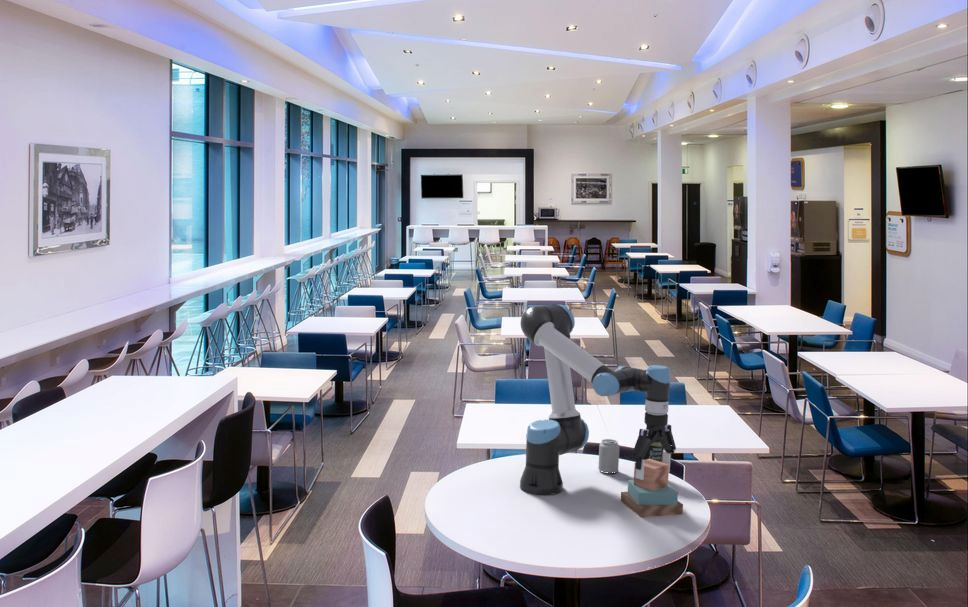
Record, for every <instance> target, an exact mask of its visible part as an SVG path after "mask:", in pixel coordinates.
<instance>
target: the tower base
mask: <svg viewBox="0 0 968 607" xmlns="http://www.w3.org/2000/svg"><path fill="white" fill-rule="evenodd" d="M620 502H621V503H622V504H623V505H624V506H625V507H627V508H628V509H629V510H631V511H632V512H633V513H634V514H635V515H637V516H638V517H639V518H650V517H651V518H652V517H665V516H666V517H667V516H679V515H680V516H681V515H683V513H684V512H683V510H684V504H683V503H682V502H680V501H679V500H678V502H677V505H638V504H637V503H636V501H635V500H634V499H633V497H632V496H631V495H630V494H629V492H628V491H621V492H620Z"/></svg>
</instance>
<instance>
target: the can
mask: <svg viewBox="0 0 968 607" xmlns="http://www.w3.org/2000/svg"><path fill="white" fill-rule="evenodd" d="M598 446H599V448H598V465H597V466H598V467H597V468H598V470H599V471H600V472H601V471H603V472H608V473H612V472H613V473H614V472H616V473H617V472H618V471H619V465H620V464H619V461H620V444H619V441H618V440H615V439H609V438H607V439H606V438H605V439H602V440H601V442H600V443H599V445H598ZM614 474H615V473H614Z"/></svg>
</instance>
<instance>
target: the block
mask: <svg viewBox="0 0 968 607" xmlns="http://www.w3.org/2000/svg"><path fill="white" fill-rule="evenodd" d="M669 473H670V472H669V464H666V463H662V462H659V461H656V460H652V459H646V460H645V463H644V480H641V479H638V478H636V462H634V470H633V480H634V485H636V486H639V487H642V488H645V489H648V490H651V491H655V490H658V489H662V488H665V487H668V483H669Z"/></svg>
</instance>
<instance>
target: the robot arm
mask: <svg viewBox="0 0 968 607" xmlns="http://www.w3.org/2000/svg"><path fill="white" fill-rule="evenodd" d="M575 322H576V321H575V316H574V314H573V313H572V311H571V309H570V308H569V307H567V306H565V305H564V304H556V303H554V304H553V303H552V304H545V305H533V306H531V307H529V308H527V309H526V310H525V311H524V312H523V313H522V315H521V318H520V328H521V332H522V333H523V334H524V336H525V338H526V339H528V340H529V341H530V342H531V343H532V344H534V345H535V346H537V347H543V348H544V357H545V358H544V359H545V365H546V372H547V373H546V375H547V382H548V391H549V396H550V405H551V413H550V415H549V416H548V419H543V420H542V419H539V420H535V421H533V422H531V423H529V424H528V426H527V430H526V435H525V438H526V439H525V440H526V443H525V444H526V445H525V467H524V470H523V472H522V475H521V478H520V480H519V488H520V489H521V490H522V491H523V492H526V493H527V494H528V493H529V494H533V495H538V496H539V495H541V496H545V495H546V496H547V495H548V496H549V495H555V494H559V493H561V492H562V491H563V488H564V487H563V485H564V482H563V478H562V476H561V470H560V469H559V468H560V467H559V464H560V456H561V455H564V454H569V453H573V452H577V451H579V450H580V449H582V448H584V447H585V445H586V444H587V442H588V440H589V436H590V430H589V426H588V424H587V423H586V422H585V420H584V419H582V417H581V416H582V415H581V413H580V412H579V411H578V410H577V409H576V403H575V395H574V387H573V381H572V373H571V372H572V371H571V369H573V370H574V371H575V372H576V373H577V374H578V375H580V376H582V377H583V378H584V379H585V380H587V381H589V383H591V384H592V389H593V391H594V393H596V395H597V396H600V397H612V396H615V395H618V394H624V393H626V392H631V391H634V392H639V393H645V403H644V404H645V405H644V411H645V413H644V420H643V421H644V423H645V425H646V428H645V429H644V428H640V429H639V432H638V437H637V440H636V442H635V444H634V447H633V450H632V453H631V458H633V459H635V463H636V478H638V479H641V480H644V463H645V460H643V458H644V456H645V454H646V453H647V451H648V449H649V447H650V445H651V444H652V443H653V442H654V441H657V440H659V441H660V443H661V445H662V447H663V448H664V451H663V459H662V463H666V464H669V473H670V472H671V469H670V468H671V461H672V454H674V453H675V451H676V449H677V447H676V443H675V439H674V435H673V432H672V425H671V424H668V423H669V420H668V418H669V414H668V413H669V404H670V402H669V401H670V386H671V369H670V367H668V366H665V365H658V364H651V365H648V366H647V369H642V368H641V369H640V368H636V367H632V366H627V365H626V366H623V365H620V366H618V367H617V368H616V369H615V370H612V369H611V368H609V367H608V366H607V365H605V364H604V363H603V362H601V360H599V359H597V358H596V357H595V356H593V355H592V354H590V353H589V352H588V351H586V350H585V349H584V348H582V347H581V346H580V345H578V344H576V342H575V341H573V340H571V333H572V332H573V330H574V328H575V324H576V323H575ZM647 438H649V439H647ZM640 455H641V456H640Z"/></svg>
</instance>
